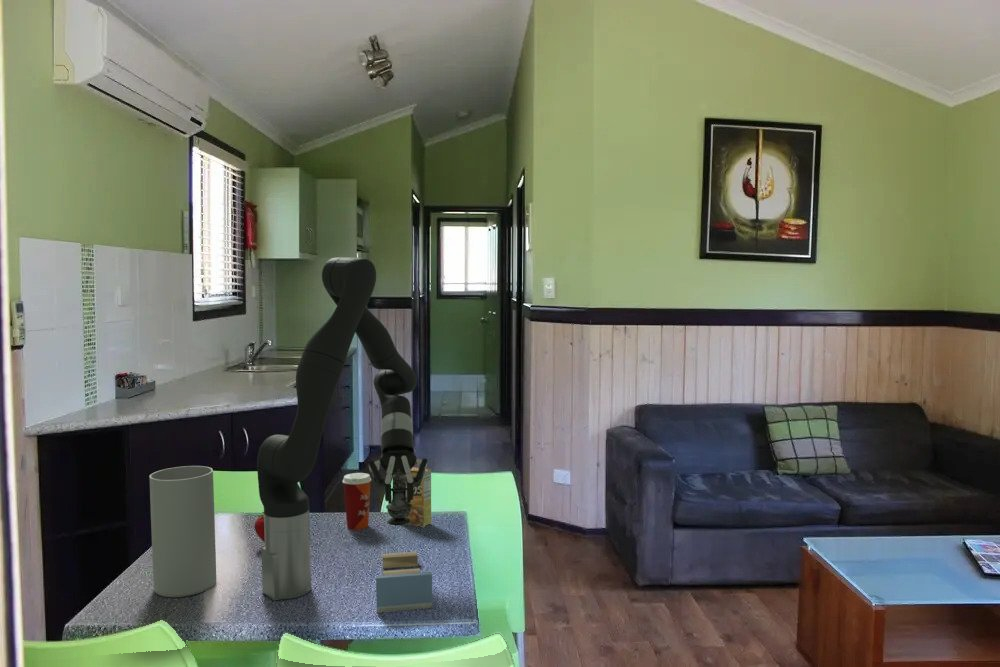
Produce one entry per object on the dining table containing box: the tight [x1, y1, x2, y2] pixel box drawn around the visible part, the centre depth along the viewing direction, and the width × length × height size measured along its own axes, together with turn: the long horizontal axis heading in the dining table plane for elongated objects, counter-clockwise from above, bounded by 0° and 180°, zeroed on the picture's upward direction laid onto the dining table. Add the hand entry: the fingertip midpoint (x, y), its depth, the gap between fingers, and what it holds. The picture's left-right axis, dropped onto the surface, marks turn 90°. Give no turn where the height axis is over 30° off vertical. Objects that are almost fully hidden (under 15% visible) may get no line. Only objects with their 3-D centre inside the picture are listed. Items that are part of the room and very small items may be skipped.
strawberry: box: [254, 511, 265, 543], centre depth 182 cm, size 6×8×10 cm
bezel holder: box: [375, 571, 433, 614], centre depth 149 cm, size 10×11×7 cm
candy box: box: [405, 466, 432, 528], centre depth 198 cm, size 9×4×15 cm, turn 62°
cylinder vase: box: [149, 465, 217, 598], centre depth 157 cm, size 12×12×25 cm
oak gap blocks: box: [381, 551, 422, 575], centre depth 163 cm, size 13×8×2 cm, turn 10°
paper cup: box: [341, 472, 372, 531], centre depth 196 cm, size 8×8×14 cm
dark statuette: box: [385, 469, 412, 526], centre depth 162 cm, size 6×6×12 cm
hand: (399, 501), depth 160 cm, fingers closed on dark statuette, 3 cm apart
